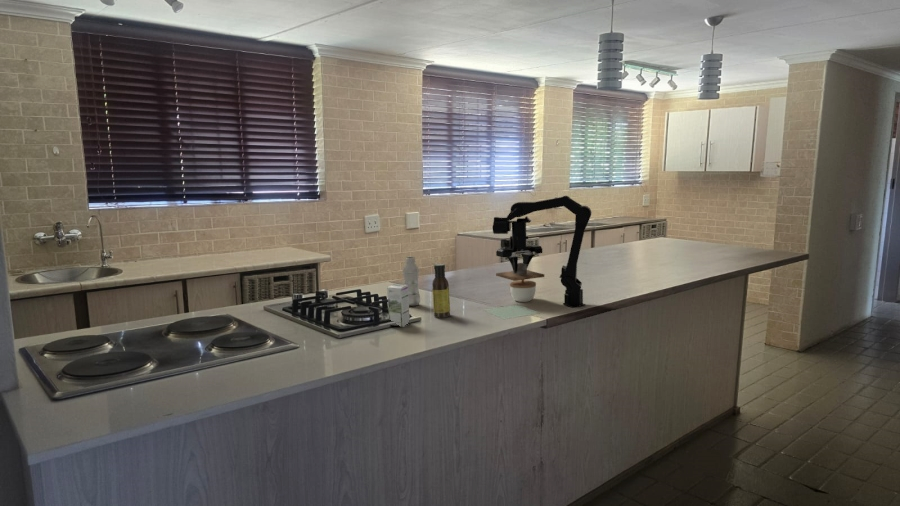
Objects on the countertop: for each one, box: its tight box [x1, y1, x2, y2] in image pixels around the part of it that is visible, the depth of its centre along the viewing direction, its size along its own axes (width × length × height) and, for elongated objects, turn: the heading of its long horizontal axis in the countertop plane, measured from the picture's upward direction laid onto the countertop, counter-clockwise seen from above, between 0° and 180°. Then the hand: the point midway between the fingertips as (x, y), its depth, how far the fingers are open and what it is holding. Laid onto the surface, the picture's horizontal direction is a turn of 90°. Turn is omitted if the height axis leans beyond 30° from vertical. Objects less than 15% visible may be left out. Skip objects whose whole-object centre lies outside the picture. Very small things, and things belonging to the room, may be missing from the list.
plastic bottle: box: [402, 256, 421, 307], centre depth 236 cm, size 6×7×20 cm
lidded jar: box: [509, 279, 537, 303], centre depth 238 cm, size 11×11×9 cm
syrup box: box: [386, 284, 411, 328], centre depth 207 cm, size 6×6×14 cm
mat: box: [483, 304, 540, 320], centre depth 220 cm, size 16×16×1 cm
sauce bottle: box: [431, 263, 451, 319], centre depth 217 cm, size 6×6×20 cm
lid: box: [495, 262, 545, 282], centre depth 232 cm, size 14×14×5 cm
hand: (519, 272), depth 232 cm, fingers closed on lid, 4 cm apart
